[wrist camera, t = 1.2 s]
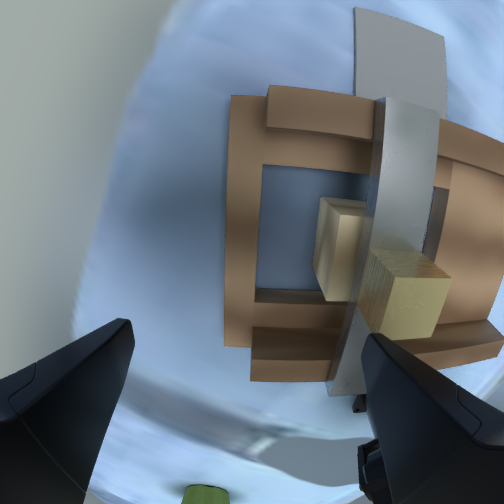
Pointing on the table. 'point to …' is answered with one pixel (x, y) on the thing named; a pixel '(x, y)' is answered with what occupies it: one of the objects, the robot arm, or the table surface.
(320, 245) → the beech block
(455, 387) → the robot arm
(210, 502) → the plant pot
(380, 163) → the latch bar
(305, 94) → the puzzle board
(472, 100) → the table surface
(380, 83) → the slate mat
